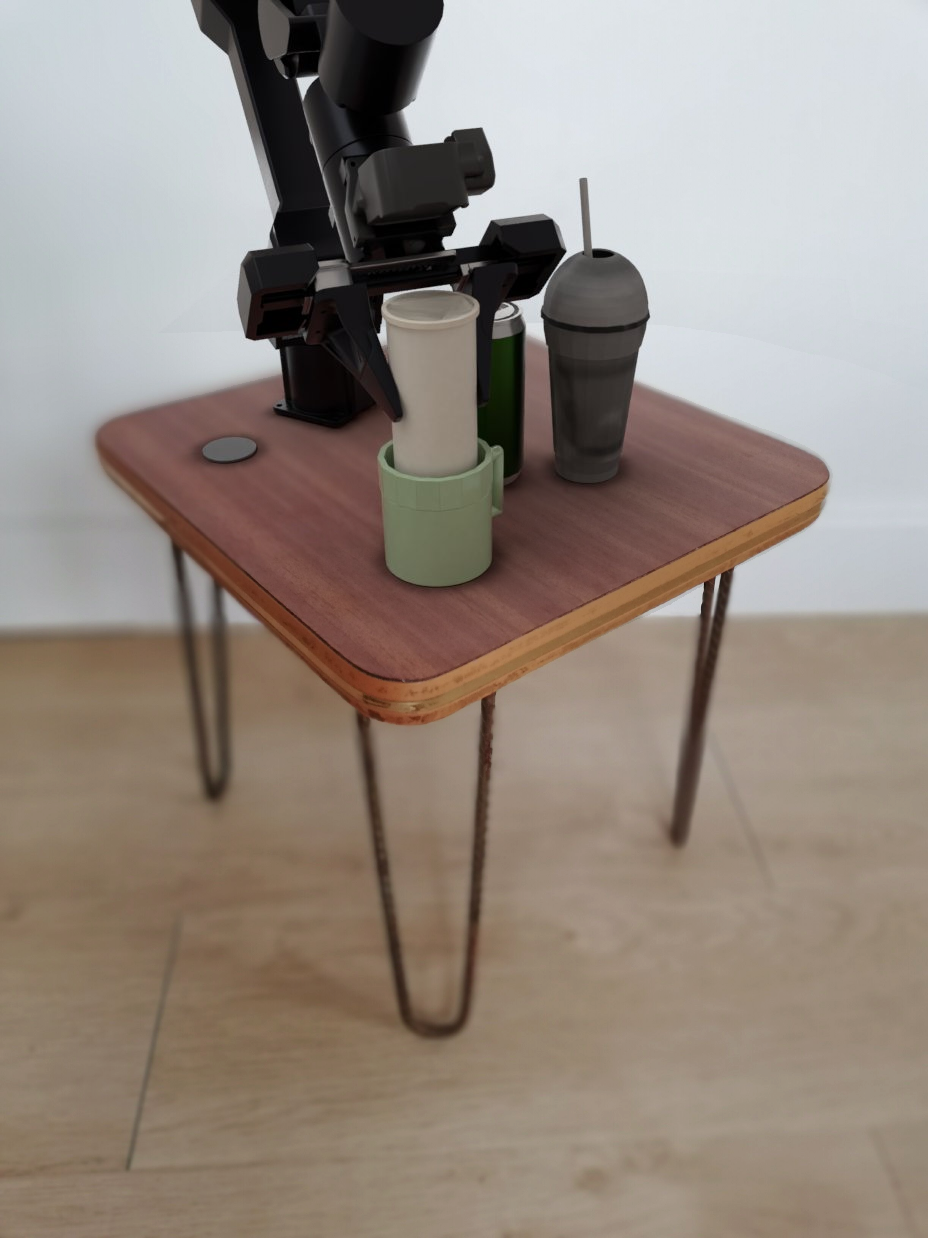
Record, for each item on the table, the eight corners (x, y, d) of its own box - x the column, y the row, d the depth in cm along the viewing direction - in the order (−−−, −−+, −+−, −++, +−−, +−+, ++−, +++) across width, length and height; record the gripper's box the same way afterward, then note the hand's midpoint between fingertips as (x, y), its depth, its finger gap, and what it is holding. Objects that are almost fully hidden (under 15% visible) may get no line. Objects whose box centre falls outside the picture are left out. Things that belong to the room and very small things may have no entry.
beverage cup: (633, 496, 75) (658, 195, 64) (529, 487, 77) (535, 191, 65) (640, 450, 81) (664, 166, 70) (543, 442, 82) (551, 163, 71)
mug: (428, 600, 65) (424, 492, 61) (364, 554, 70) (356, 451, 65) (536, 550, 70) (538, 447, 65) (468, 511, 74) (467, 411, 70)
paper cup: (375, 492, 65) (361, 312, 59) (422, 456, 69) (415, 284, 63) (452, 513, 63) (447, 329, 57) (496, 474, 67) (497, 298, 61)
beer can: (496, 497, 75) (496, 329, 69) (434, 477, 78) (428, 313, 71) (537, 467, 79) (541, 305, 72) (477, 449, 82) (475, 290, 75)
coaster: (191, 455, 82) (191, 453, 81) (226, 435, 84) (226, 432, 84) (233, 467, 80) (232, 464, 80) (267, 446, 83) (266, 443, 83)
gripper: (217, 88, 54) (297, 380, 52) (558, 60, 59) (643, 322, 57) (210, 213, 64) (276, 460, 62) (500, 180, 70) (570, 405, 68)
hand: (441, 411), depth 62 cm, fingers closed on paper cup, 5 cm apart
